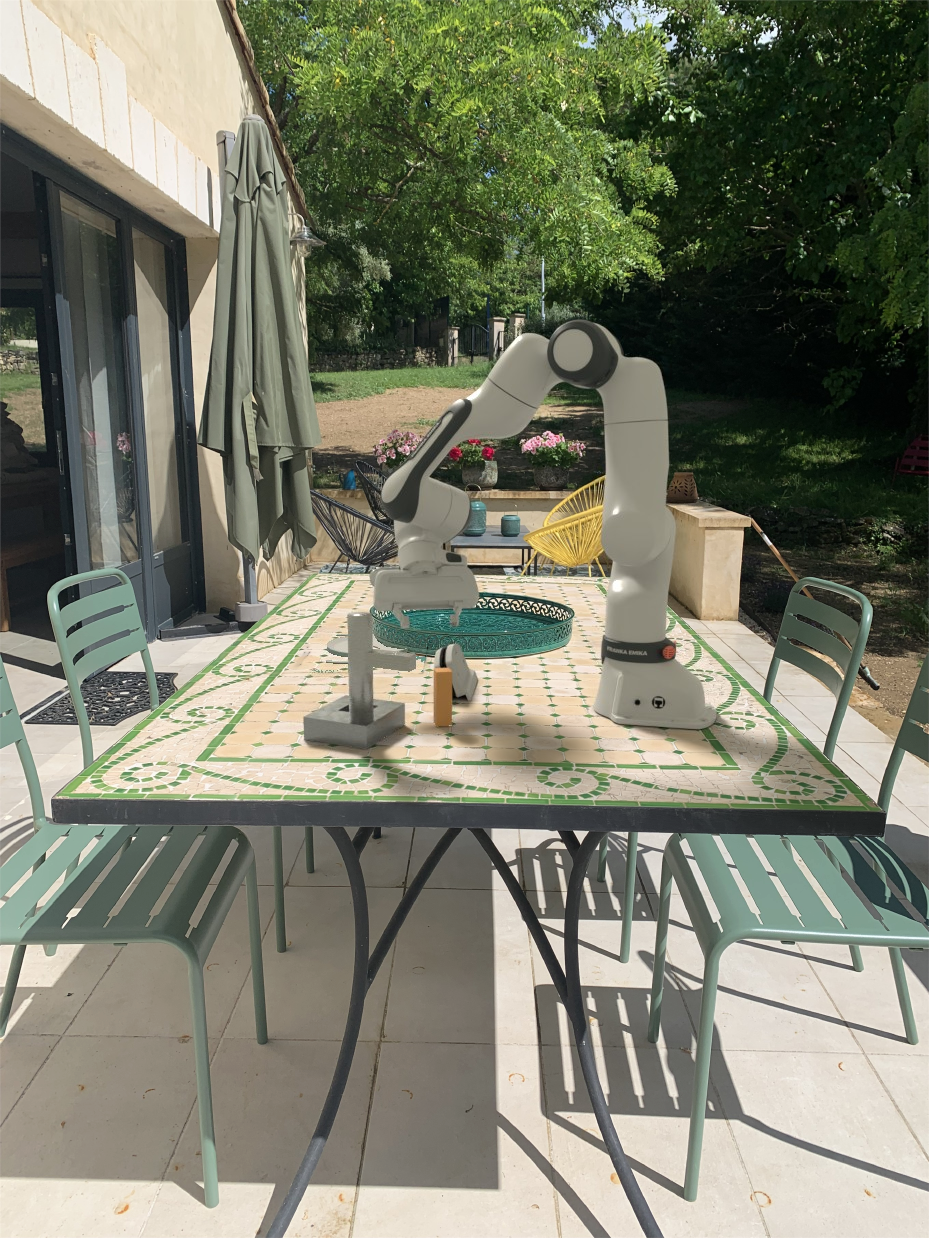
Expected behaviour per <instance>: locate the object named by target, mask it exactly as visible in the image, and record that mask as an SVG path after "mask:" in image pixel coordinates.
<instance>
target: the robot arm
mask: <svg viewBox="0 0 929 1238" xmlns="http://www.w3.org/2000/svg"><path fill="white" fill-rule="evenodd" d="M624 355H625V354H624V350H623V347H622V344H621V342H620V340H619V339H618V338H617V337H616V336H615V335H614V334H613V333H612V332H610V331H609V330H608V329H607V328H606V327H605V326H602V325H601V324H599V323H595V322H592V321H589V320H586V319H574V320H570V321H567V322H565V323H563V324H562V325H560V326H559V327H557V328H556V329H555V331H554V332H553V333H552V335H551V337H550V339H548V338H546V337H545V336H544V335H541V334H538V333H532V332H525V333H522V334H519V335H518V336H516V338H515V339H513V341H512V342H511V344H509V345H508V347H507V348H506V349H505V351H504V352H503V353H502V354H501V355H500V357H499V358H498V360H497V361H496V363H494V366H493V367H492V369H491V370H490V372H489V374H488V376H487V377H486V379H485V380H484V381H483V383H482V384H481V385H480V386H479V387H478V388H477V389H476V390H475V391H473V393H471V394H469V396H467V397H465V398H461V399H457V400H456V401H454V402H452V403H451V404H450V405H449V406H448V407H447V409H446V410H445V411H444V412H443V413H442V414H441V415H440V417H439V418H438V419H437V420H436V421H435V423H434V424H432V427H431V428H430V429H429V430H428V432H426V434H425V435H424V436H423V437H422V439H421V440H420V441H419V443H418V444H417V445H416V446H415V448H413V450H412V451H411V453H410V454H409V455H408V457H406V459H405V460H404V461H403V462H402V463H401V464H400V465H399V466H398V467H396V469H394V471H393V472H391V474H389V475H388V477H387V478H386V479H385V481H384V483H383V485H382V487H381V490H380V501H381V505H382V507H383V510H384V512H385V513H386V515H387V516H388V518H389V519H391V520H393V530H394V539H395V543H396V545H397V547H398V551H397V561H398V562H397V563H398V566H387V567H384V566H378V567H376V569H372V570H371V571H370V573H369V583H370V585H372V587H373V595H372V597H373V602H372V603H373V607H374V608H375V610H377V611H378V612H390V611H391V612H392V613H393V616H394V617H395V618H396V619H397V621H398V622H400V629H410V625H411V623H410V617H409V615H405V614H404V613H403V612H402V611H422V610H423V611H426V610H427V611H428V610H452V609H453V613H454V614H453V613H451V614H450V616H449V619H448V620H449V624H450V627H459V624H460V618H459V616H460V615H461V613H462V609H474V608H475V607H476V606H477V604H478V603H479V599H480V591H479V587H478V583H477V581H476V578H475V574H474V573H473V571H472V570H471V569H470V568H469V567H468V557H467V556H466V555H465V554H461V553H457V552H454V551H453V552H452V551H450V550H446V549H443V548H442V547H441V546H442V544H447V543H448V542H450V541H452V540H453V539H455V538H457V537H458V536H459V535H461V534H462V533H464V532H465V530H467V528H468V527H470V526H469V525H471V521H472V515H473V508H472V507H473V506H472V501H471V497H470V495H469V494H468V493H467V491H464V490H461V489H460V488H458V487H456V486H453V485H451V484H449V483H446V482H442V481H440V480H439V479H435V478H432V477H430V476H431V475H432V474H433V472H434V471H435V470H436V469H437V467H438V466H439V465H440V463H442V461H443V460H444V459H445V458H446V456H447V455H448V454H449V453H450V451H451V450H452V449H453V448H454V447H455V446H457V445H459V444H460V443H462V442H465V441H469V440H478V439H488V440H489V439H493V440H500V439H506V438H511V437H513V436H516V435H518V434H520V433H521V432H522V431H523V430H525V428H527V426H528V425H529V424H530V422H531V421H532V420H533V418H534V416H535V415H536V413H537V411H538V410H539V408H540V406H541V405H542V403H543V402H544V400H545V398H546V397H547V395H548V394H549V392H550V391H551V390H552V389H553V388H554V387H555V386H556V385H557V384H559V383H567V384H570V385H572V386H574V387H575V388H580V389H589V390H590V389H591V390H596V391H597V392H598V393H599V395H600V397H601V401H602V404H603V419H604V420H603V422H604V423H603V425H604V448H605V450H604V451H605V480H604V481H605V482H604V491H603V502H602V521H601V522H602V523H601V524H602V526H601V530H600V532H601V533H600V543H601V544H600V545H601V547H602V550H603V551H604V553H605V555H606V556H607V557H608V559H610V560H611V561H612V566H611V572H610V577H609V582H608V587H607V590H606V596H605V597H606V598H605V599H606V600H605V619H604V620H605V622H604V627H605V628H604V634H603V635H602V640H601V646H600V650H601V651H600V659H601V665H602V667H601V672H600V673H601V674H600V680H599V686H598V689H597V693H596V697H595V699H594V700H595V701H594V702H593V705H592V709H593V710H594V711H595V712H596V713H597V714H599V715H601V716H603V717H605V718H609V719H610V720H611V721H612V722H614V723H616V724H618V725H619V724H620V725H632V726H644V727H645V726H646V727H662V728H674V729H690V730H702V729H706V728H708V727H710V726H712V725H713V724H714V723H715V722H716V720H717V716H718V715H717V714H718V713H717V709H716V707H715V706H713V705H712V704H711V703H707V702H706V697H705V689H704V686H703V683H702V681H701V679H700V678H699V677H698V676H696V675H695V674H694V673H693V672H691V670H689V669H688V668H687V667H685V666H684V665H683V664H682V663H681V662H680V661H678V659H676V657H677V655H676V654H677V641H676V640H674V641H672V640H671V639H670V638H668V637H667V636H666V632H667V617H668V615H667V614H668V612H667V611H668V599H669V598H668V596H669V589H670V588H669V587H670V582H671V575H672V567H673V561H674V553H675V543H676V532H677V524H676V520H675V517H674V515H673V513H672V511H671V510H670V509H669V508H668V507H667V506H666V505H667V487H668V476H669V475H668V474H669V469H670V451H669V420H668V419H669V417H668V406H667V405H668V403H667V396H666V389H665V385H664V380H663V379H664V378H663V376H662V371H661V369H660V367H659V366H658V364H657V363H656V362H654V361H653V360H651V359H649V358H645V357H640V356H639V357H638V356H635V357H634V356H633V357H627V356H624Z"/></svg>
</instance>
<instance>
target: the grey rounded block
mask: <svg viewBox="0 0 929 1238" xmlns="http://www.w3.org/2000/svg"><path fill="white" fill-rule="evenodd" d="M433 663H434V664H433V669H434V668H450V669H451V671H452V698H453V697H457V698H459V697H462V696H466V699H467V701H469V702H470V701H471V700H472V697H473V694H474V692H475V689H476V686H477V683H478V675H477V672H476V670H474V669H471V668H469V665H468V663H467V660H466V658H465V655H464V652H463V650H462V647H461V645H460V644H459V643H452V644H451V643H450V644H448V645H447V646H442V647H441V648H439V649H437V650H436V651H435V655H434V661H433Z"/></svg>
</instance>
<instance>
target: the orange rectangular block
mask: <svg viewBox="0 0 929 1238" xmlns="http://www.w3.org/2000/svg"><path fill="white" fill-rule="evenodd" d="M434 723H435V724H434ZM433 724H434V726H435V725H436V726H435V727H436V728H439V727H438V726H448V727H450V726H449V725H452V726H453V697H452V671H451V669H450V668H434V667H433Z"/></svg>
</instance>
